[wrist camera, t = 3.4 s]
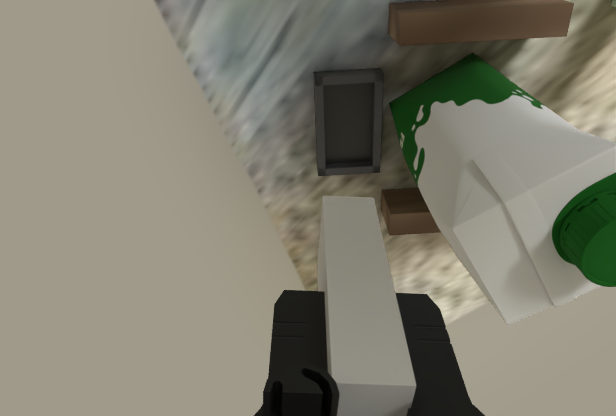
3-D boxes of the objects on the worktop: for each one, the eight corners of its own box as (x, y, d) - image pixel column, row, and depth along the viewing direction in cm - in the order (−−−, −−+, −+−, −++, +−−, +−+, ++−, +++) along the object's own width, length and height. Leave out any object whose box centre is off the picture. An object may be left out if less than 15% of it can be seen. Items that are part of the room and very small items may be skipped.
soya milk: (519, 128, 39) (702, 292, 22) (419, 183, 41) (515, 370, 24) (479, 34, 35) (664, 145, 18) (371, 100, 37) (444, 254, 20)
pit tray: (313, 71, 36) (314, 77, 35) (380, 68, 36) (383, 73, 35) (317, 167, 40) (318, 176, 39) (376, 164, 40) (379, 172, 39)
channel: (389, 3, 34) (401, 13, 30) (544, -6, 34) (573, 3, 31) (381, 209, 43) (389, 235, 39) (504, 202, 43) (523, 227, 39)
